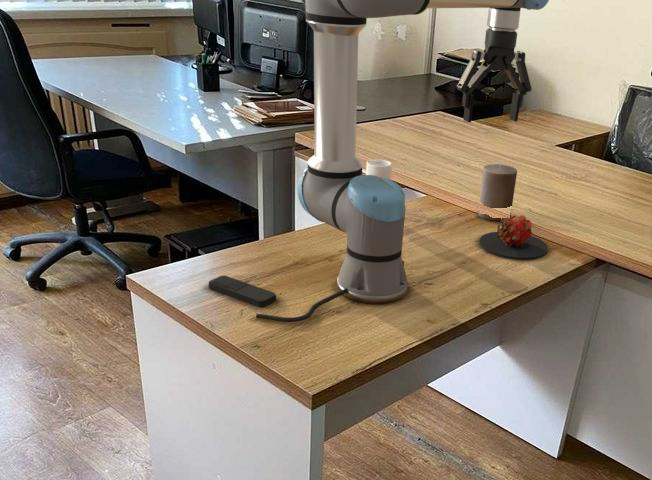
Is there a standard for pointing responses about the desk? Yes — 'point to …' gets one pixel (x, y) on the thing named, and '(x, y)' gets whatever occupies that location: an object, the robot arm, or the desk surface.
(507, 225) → the dragon fruit
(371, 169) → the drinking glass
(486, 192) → the pillar candle
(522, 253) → the mat
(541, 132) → the desk surface
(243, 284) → the remote control
